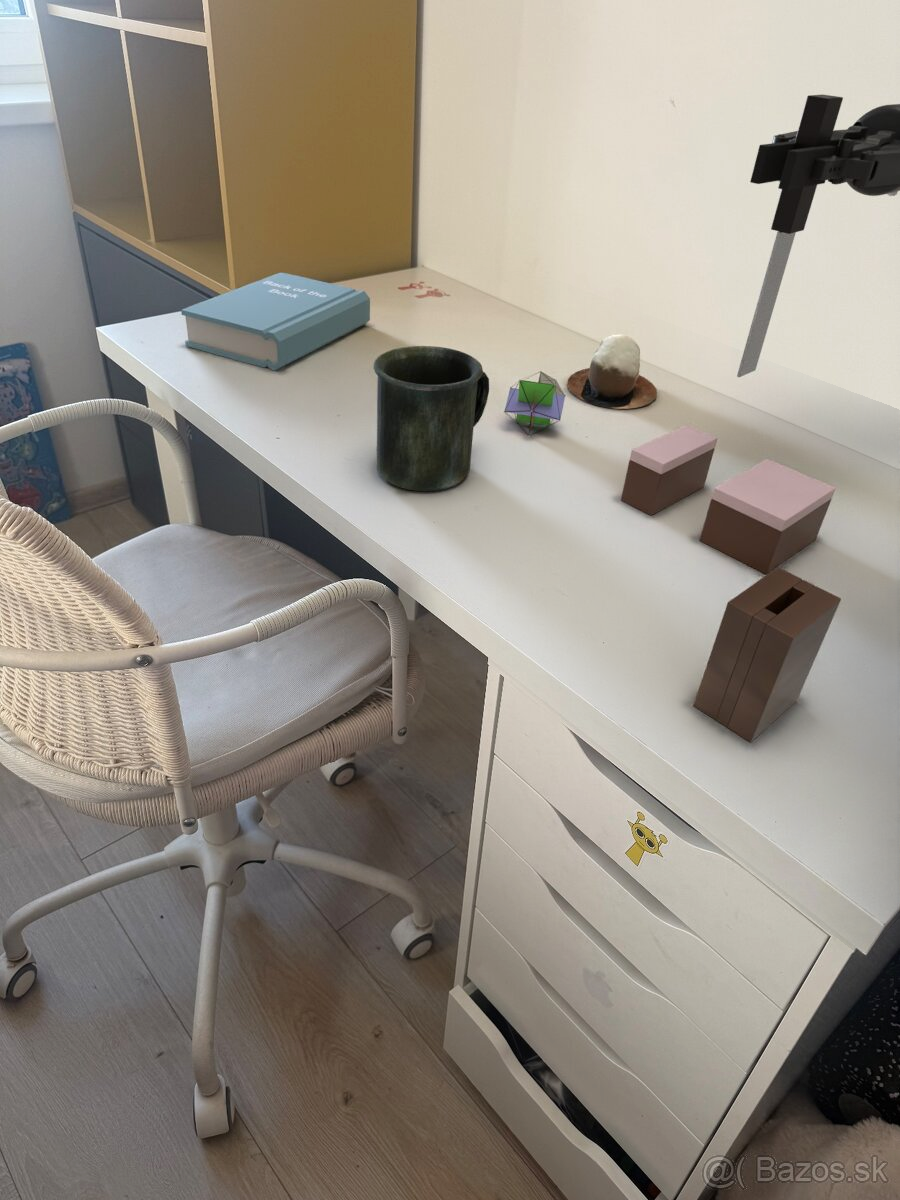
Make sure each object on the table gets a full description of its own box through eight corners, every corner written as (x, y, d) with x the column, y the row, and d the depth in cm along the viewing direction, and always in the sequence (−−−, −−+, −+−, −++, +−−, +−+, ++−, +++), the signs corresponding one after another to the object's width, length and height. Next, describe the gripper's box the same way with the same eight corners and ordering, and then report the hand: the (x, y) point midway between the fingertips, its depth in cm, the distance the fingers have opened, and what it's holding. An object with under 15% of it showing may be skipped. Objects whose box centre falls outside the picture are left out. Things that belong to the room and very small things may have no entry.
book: (282, 304, 132) (281, 272, 129) (369, 325, 126) (370, 292, 123) (185, 345, 115) (181, 309, 112) (281, 372, 110) (279, 334, 107)
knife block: (797, 700, 65) (841, 598, 59) (750, 742, 61) (793, 638, 55) (740, 667, 67) (778, 566, 61) (692, 705, 63) (727, 602, 57)
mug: (351, 467, 90) (350, 360, 83) (446, 431, 99) (452, 331, 92) (419, 507, 84) (425, 396, 77) (514, 465, 93) (526, 361, 86)
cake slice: (704, 487, 92) (718, 437, 88) (651, 515, 86) (663, 464, 82) (674, 473, 94) (686, 424, 90) (620, 500, 88) (631, 449, 85)
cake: (816, 539, 84) (836, 487, 81) (766, 574, 79) (785, 520, 75) (750, 509, 88) (767, 458, 85) (699, 540, 83) (714, 487, 79)
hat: (569, 358, 117) (628, 312, 112) (613, 414, 120) (673, 372, 114) (552, 386, 108) (616, 336, 102) (601, 446, 110) (665, 401, 105)
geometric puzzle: (557, 434, 95) (570, 365, 95) (499, 425, 96) (511, 357, 96) (557, 447, 102) (568, 383, 102) (502, 438, 103) (513, 375, 103)
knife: (762, 373, 80) (844, 97, 66) (746, 380, 78) (827, 98, 65) (746, 367, 81) (823, 94, 67) (729, 373, 79) (806, 95, 66)
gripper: (958, 207, 77) (845, 239, 64) (810, 177, 86) (683, 199, 72) (995, 115, 73) (882, 128, 59) (835, 93, 81) (704, 99, 67)
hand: (773, 167), depth 66 cm, fingers closed on knife, 2 cm apart
